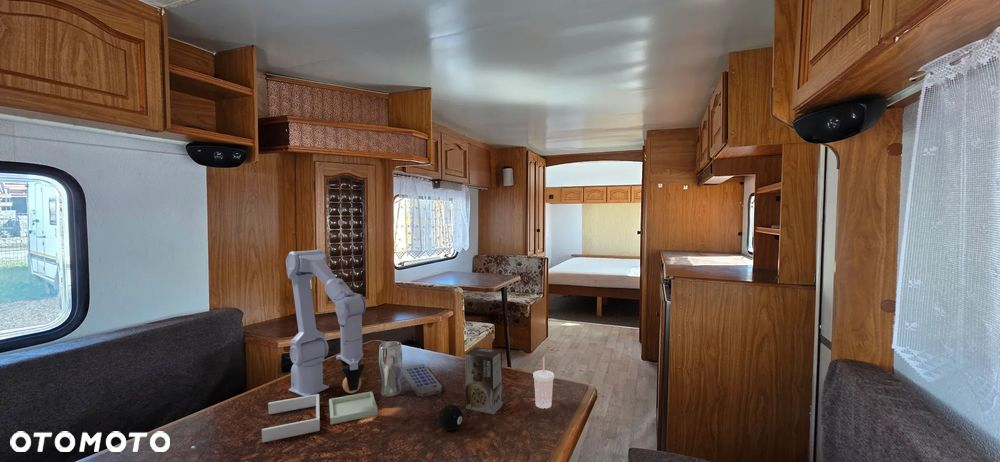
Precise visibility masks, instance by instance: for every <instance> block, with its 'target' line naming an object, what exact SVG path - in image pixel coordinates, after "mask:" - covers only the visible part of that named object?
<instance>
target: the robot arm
mask: <svg viewBox="0 0 1000 462" xmlns="http://www.w3.org/2000/svg"><path fill="white" fill-rule="evenodd" d="M285 266H286V275H287V278H288V279H289V280H291V283H292V291H293V299H294V306H295V307H294V308H295V314H296V321H297V322H296V324H297V328H298V329H297V330H298V333H296V335H295V336H294V337H293V338H292V339H291V340H290V344H289V345H290V349H289V357H290V361H291V363H292V366H291V369H290V383H291V387H290V388H289V389H288V391H289V392H292V393H294V394H297V395H299V396H301V397H304V396H310V395H315V394H319V393H320V392H323V391H324V390H328V389H329V388H330V386H329V385H326V384H324V377H323V376H324V374H323V373H324V372H323V361H325V357H327V356H328V353H329V343H328V341H327V338H326V335H325V333H324V332H322V331H320V330H318V329H317V324H316V316H315V315H316V314H315V308H314V301H313V294H312V293H313V292H312V285H311V280H312V278H313V277H316V278H317V279H318V280H319V281H320V282H321V283H322V284H324V293H325V294H326V295H327V296H328V298H329V299H330V300H331V301H332V303H333V304H334V305H335V307H334V310H335V313H336V316H337V322H338V325H339V329H340V332H339V333H340V334H339V335H340V354H337V355H336V360H337V361H338V360H340V363H341V364H342V366H341V370H342V372H343V373H344V375H345V377H346V379H347V383H348V388H349V391H354V390H357V389H358V385H359V379H360V378H361V374H362V372H363V371H364V368H365V365H364V364H363V363H362V364H360V362H361V360H362V358H363V356H364V351H363V324H362V323H363V314H365V313H366V309H367V303H366V300H365V298H364V296H363V295H362V294H361V293H356V292H353V290H352V289H351V288H350V287H349V285H347V283H346V282H345V281H344V280H343V279H342V278H339V277H338V278H337V277H336V276H335V274H334V273H333V272H332V270H331V268H330V267H329V266H328V264H327V255H326V254H325V253H324V251H323V250H322V249H320V248H318V249H312V250H302V251H301V250H299V251H292V250H291V251H290V252H289V253H288V254H287V257H286V259H285ZM357 391H358V390H357Z"/></svg>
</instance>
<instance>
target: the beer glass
mask: <svg viewBox="0 0 1000 462" xmlns="http://www.w3.org/2000/svg"><path fill="white" fill-rule="evenodd" d="M378 365H379V371H380V374H381V375H380V376H381V390H380V394H381V396H383V397H389V398H390V397H395V396H397V395H400V394H401V393H402V386H401V379H400V378H401V372H402V367H403V366H402V365H403V350H402V343H401V341H394V340H393V341H392V340H391V341H386V342H382V343H380V344H379V350H378Z"/></svg>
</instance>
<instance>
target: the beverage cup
mask: <svg viewBox="0 0 1000 462" xmlns="http://www.w3.org/2000/svg"><path fill="white" fill-rule="evenodd" d="M545 361H546V360H545V356H542V369H539V370H535V371H533V373H532V375H533V376H532V378H533V381H534V382H533V383H534V397H535V399H534V401H535V406H536V407H538V408H539V409H544V408H545V409H549V408H551V407H552V402H553V388H554V387H553V386H554V379H555V373H554V372H553V371H550V370H547V369H546V370H545V367H546V366H545V365H546V364H545Z"/></svg>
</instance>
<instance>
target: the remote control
mask: <svg viewBox="0 0 1000 462" xmlns="http://www.w3.org/2000/svg"><path fill="white" fill-rule="evenodd" d="M401 372H402V374H403V375H404V377H405V378H406V380H407V381H408V383H409V384H410V386H411V388H412V389H413V391H414V392H415V394H416V396H417V397H422V398H423V397H427V396H428V397H429V396H433V395H437V394H441V393H442V390H443V388H442V387H443V386H442V384H441V383H440V382H439V381H438V379H437V378H436V377H435V375H434V374H433V373H432V372H431V371H430V369H429V368H428V367H427V366H426V365H425V363H421V364H413V365H409V366H402V367H401Z"/></svg>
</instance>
